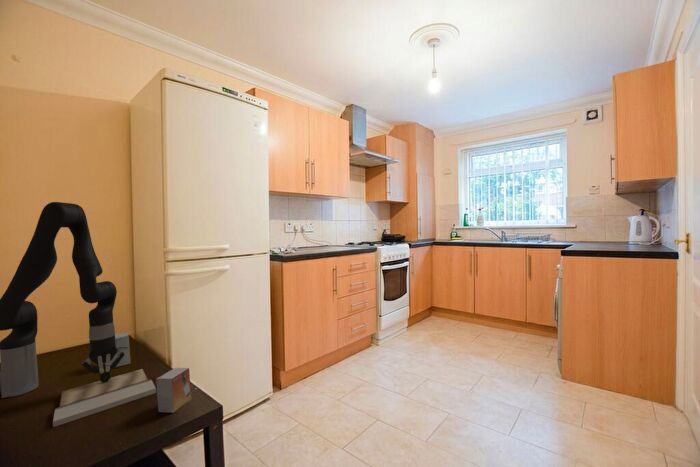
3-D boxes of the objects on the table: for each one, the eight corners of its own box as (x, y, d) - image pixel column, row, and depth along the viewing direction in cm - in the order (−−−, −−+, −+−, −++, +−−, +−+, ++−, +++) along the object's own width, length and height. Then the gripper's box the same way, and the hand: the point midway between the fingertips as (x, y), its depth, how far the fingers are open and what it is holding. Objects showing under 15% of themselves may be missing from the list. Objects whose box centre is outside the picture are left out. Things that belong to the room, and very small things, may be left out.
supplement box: (109, 369, 132) (107, 339, 132) (109, 364, 138) (107, 335, 138) (130, 363, 137) (128, 335, 137) (129, 359, 142) (127, 331, 142)
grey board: (53, 427, 91) (52, 421, 91) (55, 413, 99) (55, 408, 99) (156, 392, 108) (155, 388, 108) (151, 383, 116) (151, 379, 116)
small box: (173, 413, 94) (171, 379, 94) (157, 412, 96) (155, 378, 95) (192, 399, 102) (189, 367, 102) (177, 398, 103) (175, 367, 103)
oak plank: (60, 411, 100) (59, 406, 100) (62, 396, 111) (62, 391, 111) (148, 383, 116) (147, 379, 116) (142, 372, 126) (142, 368, 126)
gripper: (123, 329, 123) (126, 372, 124) (78, 338, 115) (82, 384, 115) (125, 333, 118) (128, 378, 118) (78, 343, 109) (82, 392, 109)
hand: (105, 381), depth 116 cm, fingers closed
